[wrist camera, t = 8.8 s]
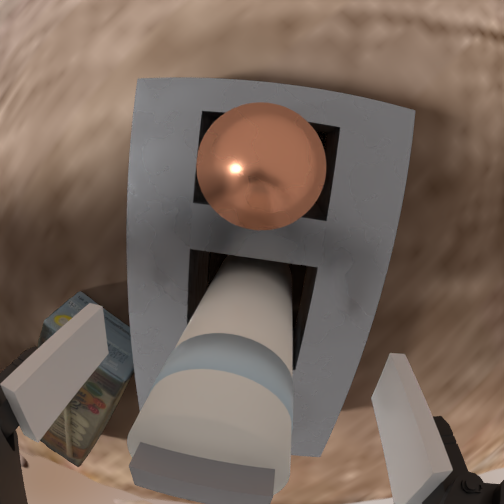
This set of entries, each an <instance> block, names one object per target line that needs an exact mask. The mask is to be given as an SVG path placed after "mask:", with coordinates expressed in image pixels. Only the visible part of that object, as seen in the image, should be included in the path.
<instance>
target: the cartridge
mask: <svg viewBox="0 0 504 504" xmlns="http://www.w3.org/2000/svg"><path fill="white" fill-rule="evenodd" d="M292 360H293V330H292V275H291V270H290V267H289V265H288V263H284V262H277V261H270V260H263V259H256V258H249V257H242V256H236V255H228V256H227V257H226V258H225V260H224V261H223V263H222V265H221V266H220V268H219V270H218V272H217V273H216V275H215V277H214V279H213V280H212V282H211V284H210V286H209V287H208V289H207V291H206V293H205V295H204V296H203V298H202V300H201V302H200V303H199V305H198V307H197V309H196V311H195V312H194V314H193V316H192V318H191V320H190V321H189V323H188V325H187V327H186V329H185V330H184V332H183V334H182V336H181V338H180V339H179V341H178V343H177V345H176V347H175V348H174V350H173V351H172V352H171V354H170V355H169V357H168V358H167V360H166V362H165V364H164V366H163V367H162V369H161V371H160V373H159V375H158V376H157V378H156V380H155V382H154V384H153V386H152V387H151V389H150V391H149V394H148V398H147V400H146V402H145V403H144V405H143V407H142V409H141V411H140V413H139V415H138V417H137V418H136V420H135V422H134V424H133V426H132V428H131V430H130V432H129V434H128V437H127V445H128V449H129V452H130V454H131V456H132V460H131V462H130V464H129V468H130V471H131V474H132V478H133V481H134V484H135V485H137V486H140V487H143V488H146V489H150V490H153V491H157V492H160V493H164V494H167V495H171V496H175V497H179V498H183V499H187V500H192V501H196V502H201V503H206V504H270V503H271V500H272V498H273V495H274V494H276V493H278V492H279V491H280V490H282V489H283V488H284V486H285V485H286V484H287V482H288V480H289V477H290V460H291V435H292V431H293V394H294V388H293V380H292Z"/></svg>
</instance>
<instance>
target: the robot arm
mask: <svg viewBox="0 0 504 504" xmlns="http://www.w3.org/2000/svg"><path fill="white" fill-rule="evenodd" d="M108 354H109V352H108V345H107V338H106V330H105V322H104V313H103V306H100V305H96V304H92V303H89V304H88V305H87V306H86V307H84V308H83V309H82V310H81V311H80V312H79V313H77V314H76V315H75V316H74V317H73V318H72V319H70V320H69V321H68V322H67V323H66V324H65V325H64V326H62V327H61V328H60V329H59V330H58V331H57V332H56V333H55V334H53V335H52V336H51V337H50V338H49V339H48V340H47V341H46V342H45V343H43V344H42V345H41V346H40V347H39V348H38V347H36V346H35V347H32V348H30V349H28V350H26V351H24V352H23V353H22V354H21V355H20V356H19V357H18V359H15V360H14V361H13V362H12V364H10V365H9V366H8V367H7V368H6V369H5V370H3V371H2V372H1V373H0V504H28V503H27V498H26V493H25V488H24V482H23V476H22V470H21V463H20V455H19V446H18V436H17V433H16V431H15V430H16V429H17V427H18V426H20V428H21V430H22V432H23V434H24V435H25V436H27V437H29V438H31V439H32V440H34V441H36V442H39V441H40V440H41V438H42V437H43V436H44V434H45V433H46V432H47V430H48V429H49V428H50V426H51V425H52V424H53V423H54V421H55V420H56V419H57V417H58V416H59V415H60V414H61V412H62V411H63V410H64V408H65V407H66V406H67V405H68V403H69V402H70V401H71V399H72V398H73V397H74V396H75V394H76V393H77V392H78V391H79V389H80V388H81V387H82V386H83V384H84V383H85V382H86V381H87V379H88V378H89V377H90V376H91V374H92V373H93V372H94V371H95V370H96V368H97V367H98V366H99V365H100V363H101V362H102V361H103V360H104V358H105V357H106V356H107V355H108ZM371 400H372V404H373V408H374V412H375V416H376V420H377V424H378V429H379V433H380V437H381V442H382V446H383V451H384V456H385V460H386V465H387V470H388V475H389V480H390V485H391V491H392V496H393V501H394V504H504V480H503V481H502V482H501V483H500V484H490V483H483V481H482V479H481V478H480V477H479V476H478V475H476V474H475V473H471V472H469V471H468V469H467V467H466V464H465V462H464V459H463V457H462V454H461V452H460V449H459V447H458V444H456V440H455V437H454V436H453V432H452V430H451V428H450V426H449V424H448V423H447V422H446V421H445V420H444V419H443V418H442V416H436V417H432V414H431V412H430V409H429V407H428V405H427V402H426V400H425V397H424V395H423V393H422V391H421V388H420V386H419V384H418V381H417V379H416V377H415V375H414V373H413V370H412V368H411V366H410V364H409V362H408V360H407V357H406V355H405V354H399V353H390V354H389V356H388V359H387V361H386V364H385V366H384V369H383V371H382V374H381V376H380V379H379V381H378V383H377V386H376V388H375V390H374V392H373V395H372V397H371Z"/></svg>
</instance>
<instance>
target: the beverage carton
mask: <svg viewBox="0 0 504 504" xmlns="http://www.w3.org/2000/svg"><path fill="white" fill-rule="evenodd" d="M89 303H92V304H96V305H98V304H97V303H96V302H94V301H93V300H92V299H91V298H89V297H88V296H87V295H85V294H84V293H83V292H81V291H80V292H77V293H76V294H75V295H74V296H73V297H72V298H70V299H68V300H67V301H66V302H65V303H64V304H63V305H62V306H61V307H60V308H58V309H57V310H56V311H54V312H53V313H52V314H51V315H50V316H49V317H48V318H46V319H45V320H44V323H43V327H42V331H41V335H40V338H39V341H38V348H39V347H40V346H41V345H42V344H43V343H45V342H46V341H47V340H48V339H49V338H50V337H51V336H52V335H53V334H55V333H56V332H57V331H58V330H59V329H60V328H61V327H62V326H64V325H65V324H66V323H67V322H68V321H69V320H70V319H72V318H73V317H74V316H75V315H76V314H77V313H79V312H80V311H81V310H82V309H83V308H84V307H86V306H87V305H88V304H89ZM103 313H104V322H105V330H106V338H107V345H108V352H109V354H108V355H107V356H106V357H105V358H104V360H103V361H102V362H101V363H100V365H99V366H98V367H97V368H96V370H95V371H94V372H93V373H92V374H91V376H90V377H89V378H88V379H87V381H86V382H85V383H84V384H83V386H82V387H81V388H80V389H79V391H78V392H77V393H76V394H75V396H74V397H73V398H72V399H71V401H70V402H69V403H68V405H67V406H66V407H65V408H64V410H63V411H62V412H61V414H60V415H59V416H58V417H57V419H56V420H55V421H54V423H53V424H52V425H51V426H50V428H49V429H48V430H47V432H46V433H45V434H44V436H43V437H42V438H41V440H40V441H41V442H43V443H44V444H45V445H46V446H47V447H48V448H50V449H51V450H53V451H54V452H56V453H58V454H59V455H61V456H63V457H64V458H65V459H67V460H68V461H69V462H71V463H73V464H74V465H76V466H77V467H79V466H81V464H82V463H83V461H84V460H85V459H86V457H87V456H88V454H89V453H90V451H91V450H92V448H93V447H94V445H95V444H96V442H97V440H98V439H99V437H100V435H101V434H102V432H103V430H104V428H105V426H106V425H107V423H108V421H109V419H110V417H111V415H112V414H113V412H114V410H115V408H116V406H117V404H118V402H119V400H120V398H121V396H122V394H123V392H124V390H125V388H126V386H127V384H128V382H129V380H130V378H131V376H132V375H133V373H134V364H133V354H132V344H131V333H130V327H129V326H127V325H126V324H124V323H123V322H122V321H120V320H119V319H118V318H116V317H115V316H113V315H112V314H111V313H109V312H108V311H107V310H105V309H104V308H103Z"/></svg>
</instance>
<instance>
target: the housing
mask: <svg viewBox="0 0 504 504" xmlns="http://www.w3.org/2000/svg"><path fill="white" fill-rule="evenodd" d="M258 102H263V103H272V104H277V105H281V106H284V107H286V108H288V109H291V110H293V111H294V112H296V113H297V114H299V115H300V116H302V117H303V118H304V119H305V120H306V121H307V122H308V123H309V124H310V125H311V126H312V127H313V129H314V130H315V131H319V132H325V133H327V141H326V148H325V157H326V177H325V182H324V185H323V188H322V191H321V193H320V195H319V197H318V204H314V205H313V206H312V207H311V208H310V210H309V211H308V212H307V213H306V214H304V215H303V216H302V217H301V218H299V219H298V220H296V221H295V222H293V223H291V224H289V225H287V226H284V227H281V228H278V229H272V230H251V229H246V228H243V227H240V226H237V225H235V224H233V223H231V222H229V221H227V220H226V219H224V218H223V217H221V216H220V215H219V214H218V213H217V212H216V211H215V210H214V209H213V208H212V207H211V206H210V204H209V203H208V202H207V200H206V199H205V197H204V195H203V193H202V191H201V188H200V185H199V182H198V178H197V169H196V164H197V155H198V150H199V147H200V143H201V141H202V139H203V137H204V135H205V133H206V132H207V130H208V129H209V128H210V126H211V125H212V124H213V123H214V122H215V121H216V120H217V119H218V118H219V117H220V116H222V115H223V114H225V113H226V112H228V111H229V110H231V109H233V108H236V107H238V106H241V105H245V104H249V103H258ZM414 121H415V110H412V109H408V108H405V107H401V106H397V105H394V104H390V103H386V102H381V101H377V100H373V99H369V98H364V97H359V96H355V95H350V94H345V93H339V92H334V91H328V90H323V89H316V88H310V87H303V86H296V85H289V84H280V83H271V82H262V81H250V80H237V79H219V78H141V79H138V81H137V88H136V95H135V103H134V112H133V121H132V131H131V142H130V155H129V170H128V190H127V284H128V305H129V320H130V333H131V344H132V354H133V364H134V372H135V381H136V388H137V395H138V402H139V409H140V411H141V409H142V407H143V405H144V403H145V402H146V400H147V398H148V394H149V391H150V389H151V387H152V386H153V384H154V382H155V380H156V378H157V376H158V375H159V373H160V371H161V369H162V367H163V366H164V364H165V362H166V360H167V358H168V357H169V355H170V354H171V352H172V351H173V350H174V348H175V347H176V345H177V343H178V341H179V339H180V338H181V336H182V334H183V332H184V330H185V329H186V327H187V325H188V323H189V321H190V320H191V318H192V316H193V314H194V312H195V311H196V309H197V307H198V305H199V303H200V302H201V300H202V298H203V296H204V295H205V293H206V291H207V278H208V264H209V252H215V253H222V254H229V255H236V256H242V257H249V258H256V259H263V260H270V261H277V262H284V263H291V264H298V265H305V266H307V268H306V274H305V279H304V284H303V289H302V295H301V300H300V305H299V310H298V315H297V320H296V324H295V328H293V327H292V330H293V360H292V380H293V388H294V394H293V431H292V435H291V455H298V456H312V457H320V456H321V454H322V452H323V450H324V448H325V445H326V443H327V441H328V439H329V437H330V434H331V432H332V430H333V428H334V425H335V423H336V421H337V418H338V416H339V413H340V411H341V409H342V406H343V404H344V401H345V399H346V396H347V394H348V391H349V389H350V386H351V383H352V381H353V378H354V375H355V373H356V370H357V367H358V364H359V362H360V359H361V356H362V353H363V350H364V347H365V344H366V341H367V338H368V335H369V332H370V329H371V326H372V323H373V319H374V316H375V313H376V309H377V306H378V303H379V299H380V296H381V292H382V289H383V285H384V281H385V277H386V274H387V270H388V266H389V262H390V258H391V254H392V250H393V245H394V241H395V236H396V232H397V227H398V223H399V218H400V213H401V208H402V202H403V197H404V192H405V186H406V180H407V174H408V167H409V161H410V154H411V146H412V138H413V130H414Z"/></svg>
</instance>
